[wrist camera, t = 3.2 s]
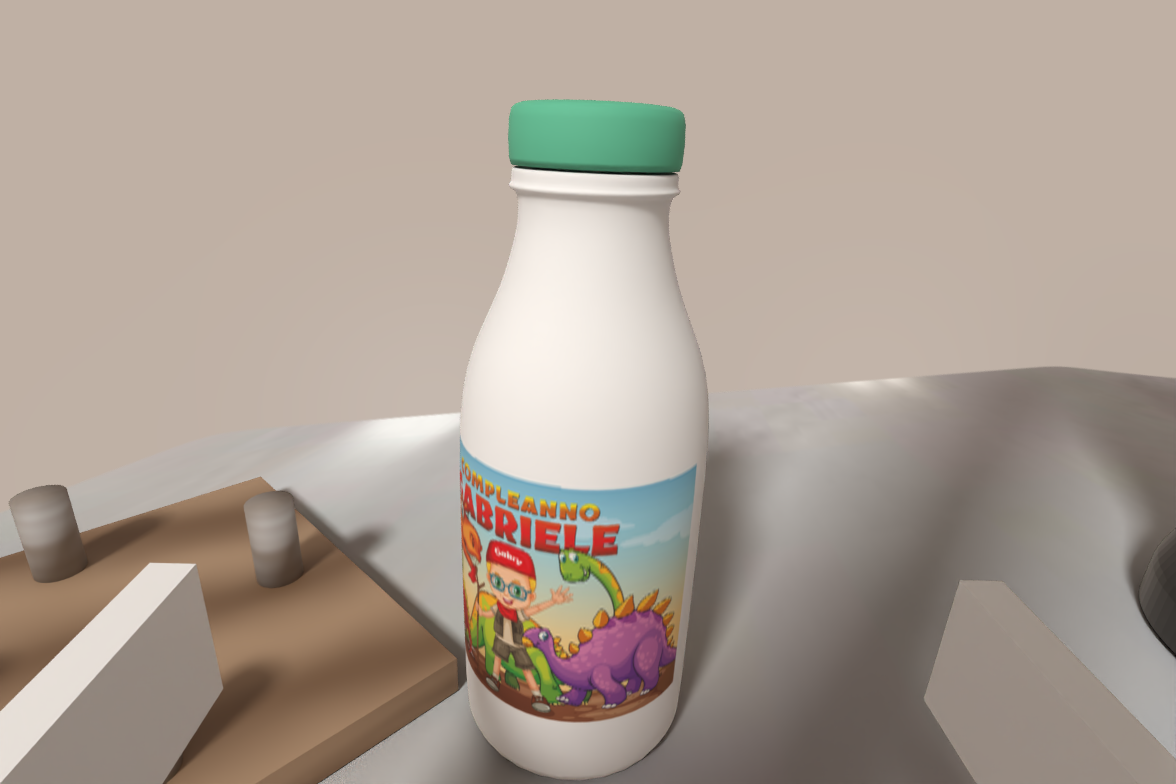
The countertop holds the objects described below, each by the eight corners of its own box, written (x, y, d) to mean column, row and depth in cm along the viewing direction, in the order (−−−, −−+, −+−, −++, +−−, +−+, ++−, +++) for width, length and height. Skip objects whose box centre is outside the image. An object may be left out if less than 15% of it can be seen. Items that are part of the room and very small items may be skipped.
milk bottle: (516, 603, 28) (516, 107, 21) (691, 645, 26) (758, 115, 19) (427, 750, 21) (381, 87, 14) (655, 822, 19) (739, 95, 12)
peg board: (458, 689, 24) (453, 578, 22) (-381, 1245, 11) (-548, 1095, 10) (264, 500, 35) (251, 417, 33) (-258, 677, 23) (-325, 560, 21)
